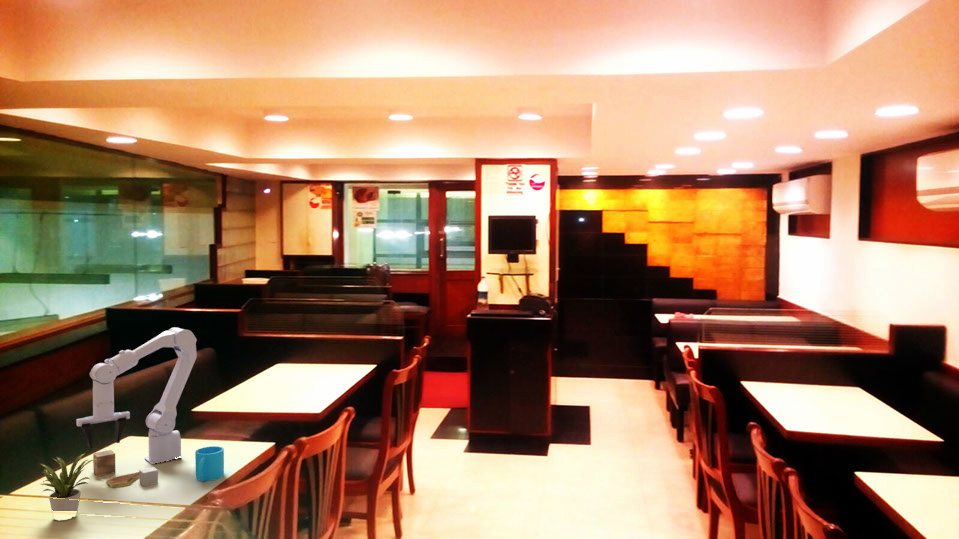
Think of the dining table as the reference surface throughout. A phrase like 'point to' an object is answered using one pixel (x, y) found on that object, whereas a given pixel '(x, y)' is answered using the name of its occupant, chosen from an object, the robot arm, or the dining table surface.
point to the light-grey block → (148, 476)
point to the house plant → (65, 486)
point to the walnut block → (104, 462)
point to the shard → (122, 480)
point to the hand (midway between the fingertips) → (103, 444)
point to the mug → (209, 463)
